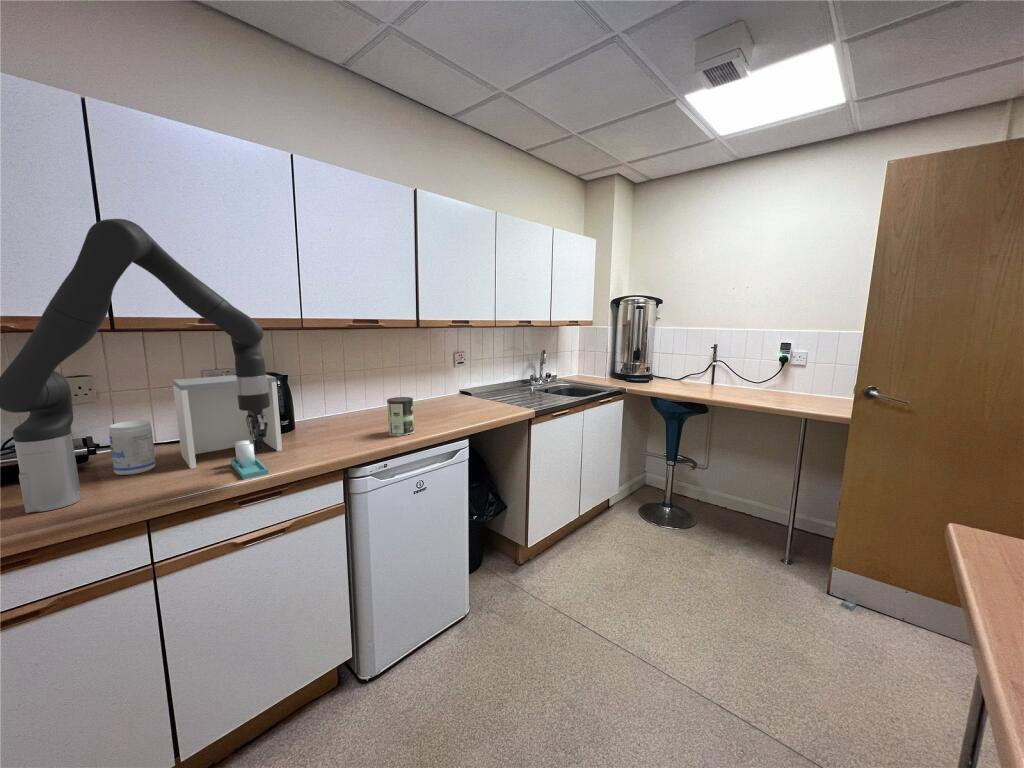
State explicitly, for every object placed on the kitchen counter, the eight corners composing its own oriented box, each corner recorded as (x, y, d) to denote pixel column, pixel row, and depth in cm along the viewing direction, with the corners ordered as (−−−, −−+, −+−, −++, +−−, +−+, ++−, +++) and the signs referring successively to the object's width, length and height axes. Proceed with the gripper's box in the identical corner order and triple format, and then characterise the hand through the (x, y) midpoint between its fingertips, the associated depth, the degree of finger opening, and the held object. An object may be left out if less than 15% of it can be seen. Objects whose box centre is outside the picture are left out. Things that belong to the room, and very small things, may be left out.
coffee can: (412, 428, 176) (411, 396, 174) (416, 434, 167) (414, 400, 165) (387, 431, 172) (385, 397, 170) (389, 437, 163) (388, 402, 161)
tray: (268, 474, 123) (266, 450, 122) (243, 480, 119) (240, 455, 118) (254, 460, 136) (251, 438, 135) (231, 465, 132) (228, 442, 131)
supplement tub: (105, 475, 123) (98, 426, 121) (138, 464, 132) (131, 419, 130) (133, 476, 121) (127, 428, 119) (164, 465, 131) (158, 420, 129)
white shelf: (190, 468, 128) (180, 385, 124) (181, 455, 141) (172, 379, 137) (282, 450, 146) (276, 377, 143) (267, 440, 159) (261, 373, 155)
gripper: (275, 392, 113) (281, 453, 116) (261, 387, 123) (267, 444, 125) (243, 396, 108) (250, 460, 111) (231, 390, 118) (238, 449, 120)
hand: (259, 451), depth 118 cm, fingers closed
